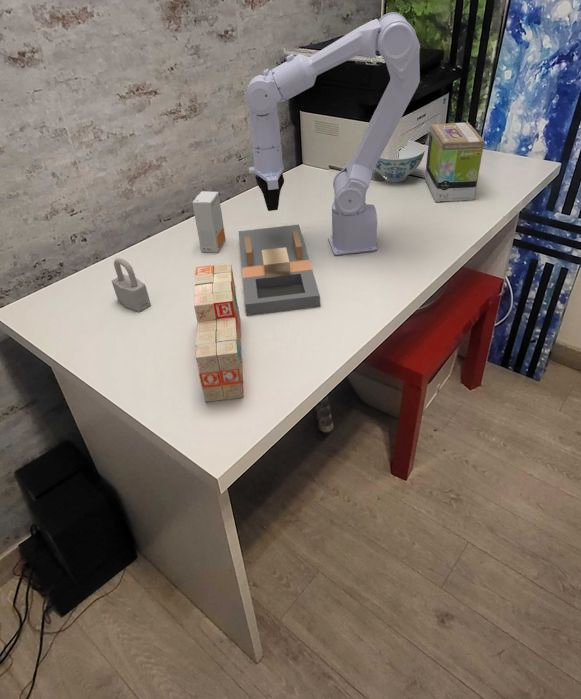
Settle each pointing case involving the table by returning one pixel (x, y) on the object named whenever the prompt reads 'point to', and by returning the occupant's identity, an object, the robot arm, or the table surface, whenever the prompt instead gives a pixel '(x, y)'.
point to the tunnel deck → (276, 290)
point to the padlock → (129, 287)
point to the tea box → (453, 161)
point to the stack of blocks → (218, 333)
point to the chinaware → (401, 162)
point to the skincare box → (209, 221)
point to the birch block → (276, 262)
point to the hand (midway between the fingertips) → (272, 209)
